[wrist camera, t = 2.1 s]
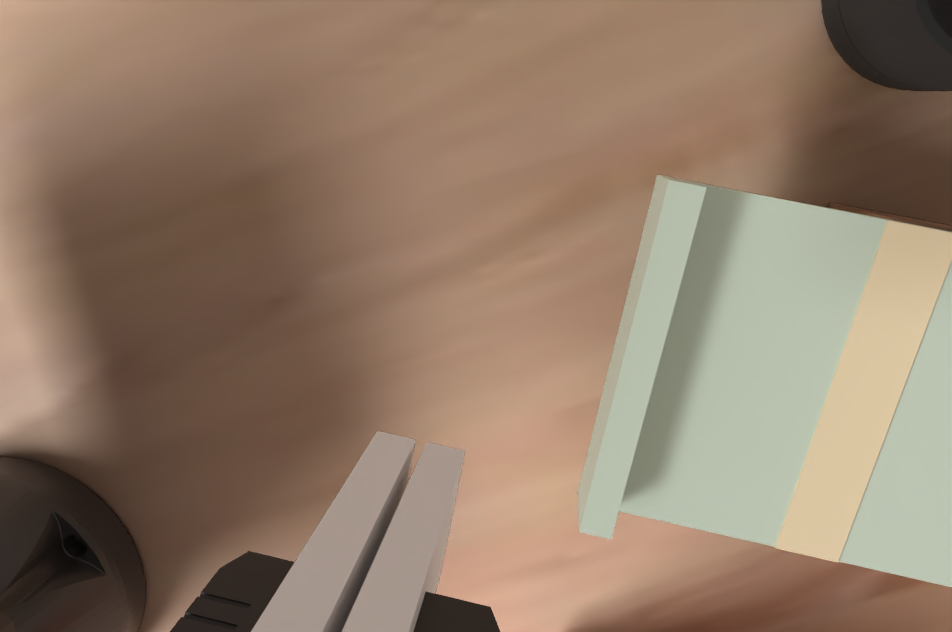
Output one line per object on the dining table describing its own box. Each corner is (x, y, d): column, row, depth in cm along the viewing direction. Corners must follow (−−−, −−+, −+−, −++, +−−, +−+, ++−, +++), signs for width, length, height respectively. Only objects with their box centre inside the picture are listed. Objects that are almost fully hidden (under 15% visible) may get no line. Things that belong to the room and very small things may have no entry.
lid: (577, 491, 29) (578, 532, 26) (657, 174, 25) (668, 180, 22) (1031, 595, 28) (1085, 649, 25) (1181, 276, 24) (1264, 295, 21)
